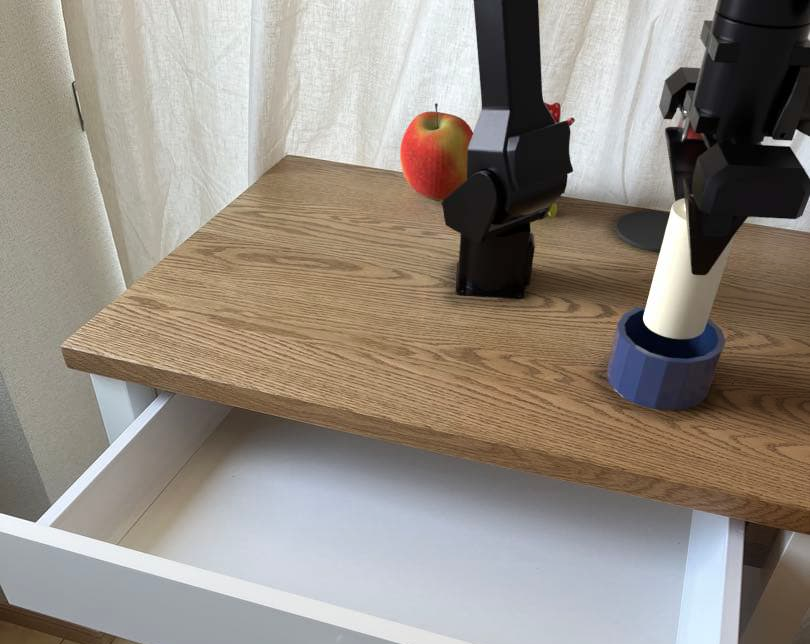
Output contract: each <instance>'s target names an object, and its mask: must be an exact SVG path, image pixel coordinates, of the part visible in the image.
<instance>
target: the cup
mask: <svg viewBox="0 0 810 644" xmlns="http://www.w3.org/2000/svg"><path fill="white" fill-rule="evenodd" d="M645 308H646V305H643V306H637V307H634V308H633V309H631V310H629V311H626V312H624V314H622V316H621V317H620V319H619V321H618V323H617V325H616V330H615V333H614V337H613V342H612V346H611V350H610V355H609V359H608V363H607V367H606V377H607V381H608V383H609V385H610V386H611V388H612V389H613V390H614V391H615V392H616V393H617V394H618V395H620V396H621V397H622V398H624V399H625V400H627V401H629V402H631V403H633V404H636V405H639V406H641V407H644V408H649V409H653V410H659V411H679V410H685V409H690V408H692V407H695V406H696V405H699V404H701V402H703V401H704V400H705V399H706V398H707V396H708V393H709V391H710V388H711V385H712V383H713V380H714V377H715V374H716V371H717V369H718V365H719V363H720V360H721V357H722V354H723V351H724V349H725V345H726V343H727V341H726V340H727V339H726V338H725V334H724V331H723V330H722V328H721V327H720V326H718V325H717V324H716V323H715V322H714V321H713V320H712V319H711V318H708V321H707V324H706V327H705V330H704V332H703V333H702V334H701V335H699V336H697V337H694V338H690V339H673V338H668V337H664V336H661V335H659V334H657V333H655V332H653V331H651V330H650V329H649V328H648V327H647V326H646V325H645V323H644V321H643V316H644V312H645Z"/></svg>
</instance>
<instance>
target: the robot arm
mask: <svg viewBox="0 0 810 644" xmlns="http://www.w3.org/2000/svg"><path fill="white" fill-rule="evenodd" d="M472 2H473V11H474V13H473V14H474V24H475V37H476V51H477V63H478V74H479V85H480V86H479V87H480V98H481V99H480V100H481V110H480V113H479V116H478V119H477V121H476V124H475V127H474V130H473V135H472V137H471V140H470V143H469V146H468V151H467V180H466V181H465V182H464V183H463V184H461V185H460V186H459V187H458V188H457V189H456V190H455V191H453V192H452V193H451V194H450V195H449V196H448V197H446V198H445V199H444V200H442V202H441V204H442V211H443V217H444V223H445V224H444V225H445V226H446V227H448V228H450V229H451V230H453V231H454V232H455V231H456V232H457V233H459V234H460V238H459V239H460V241H459V250H458V251H459V252H458V260H457V262H456V275H455V277H456V278H455V291H454V293H455V295H456V296H460V297H475V298H476V297H478V298H491V299H492V298H494V299H511V300H512V299H513V300H523V299H524V298H525V294H526V293H525V288H527V287H529V286H530V283H531V278H532V269H533V263H534V255H535V250H536V246H535V243H536V242H535V235H534V234H533V233H532V232H531V223H534V222H536V221H539V220H540V221H541V220H544V219H546V218H547V217H548V216H549V214H548V212H549V210H550V208H551V206H552V205H553V204H555V203H556V204H557V202H558V201H559V199H560V198H561V196H562V195H563V194H565V193H566V189H567V186H568V178H569V177H568V174H572V173H574V168H573V165H572V160H571V154H570V142H571V126H569V123H568V122H567V121H566V120H561V121H560V122H558V123H556V122H555V120H554V118H553V117H552V115H551V113H550V111H549V110H548V108H547V106H546V105H545V103H546V102H545V101H544V96H543V79H542V77H543V76H542V57H541V56H542V53H541V32H540V11H539V0H473V1H472ZM809 34H810V0H717V2H716V6H715V9H714V14H713V17H712V20H710V19H709V20H708V19H707V20H706V19H704V21H703V25H702V29H701V33H700V37H699V39H700V41H701V42H702V44H703V46H704V47H705V49H704V53H703V56H702V61H701V64H700V67H689V66H687V67H686V66H685V67H684V66H680V67H679V68H678V69H676V71H674V72H673V73H672V74H670V75H669V76H668V77H666V79H665V80H664V83H663V86H662V87H663V88H662V92H661V97H660V101H659V105H658V108H659V111H660V113H661V116H662V118H663V120H673V119H674V117H675V115H676V113H677V111H678V109H679V111H680V115H679V119H678V123H677V126H667V127H665V129H664V136H665V142H666V147H667V155H668V161H669V168H670V169H669V170H670V175H671V182H672V190H673V195H674V203H675V202H676V201H678V200H680V199H683V198H685V207H686V219H687V231H688V244H689V256H690V266H691V272H692V274H693V275H707V274H708V273H709V271H710V270H711V268H712V267H713V265H714V264H715V262H716V261H717V259H718V258H719V257H720V255H721V254H722V252H723V251H724V249H725V248H726V246H727V245H728V243H729V242H730V241H731V239H732V238H733V236H734V235H735V233H736V234H737V232H738V231H739V229H740V228H741V227H742V226H743V224H744V223H745V222H746V221H747V219H748V218H765V219H783V220H797V219H799V218H801V217H803V216H804V214H805V213H804V212H805V211H806V207H807V205H808V202H809V200H810V176H809V175H808V173H807V171H806V170H805V168H804V166H803V165H802V163H801V161H800V160H799V159H798V157H797V155H796V154H795V151H793V149H792V148H791V146H788V145H770V144H762V143H763V142H764V140H765V138H771V139H772V140H774V141H787V142H788V141H789V142H792V141H793V139H794V137H795V134H796V131H798V132H800V133H801V134H804V135H805V136H807V137H809V138H810V39H809ZM544 102H545V103H544ZM735 236H736V235H735Z"/></svg>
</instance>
